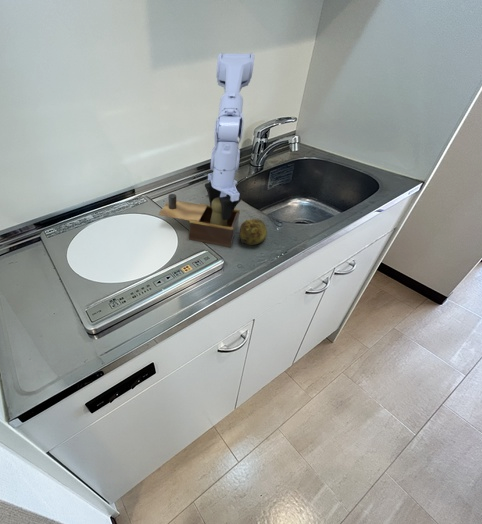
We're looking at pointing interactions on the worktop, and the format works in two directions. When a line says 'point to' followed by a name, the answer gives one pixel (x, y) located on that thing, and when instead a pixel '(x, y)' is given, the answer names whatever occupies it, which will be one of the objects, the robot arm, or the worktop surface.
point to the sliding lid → (182, 209)
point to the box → (214, 229)
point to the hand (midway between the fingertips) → (219, 212)
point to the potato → (253, 231)
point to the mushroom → (217, 213)
